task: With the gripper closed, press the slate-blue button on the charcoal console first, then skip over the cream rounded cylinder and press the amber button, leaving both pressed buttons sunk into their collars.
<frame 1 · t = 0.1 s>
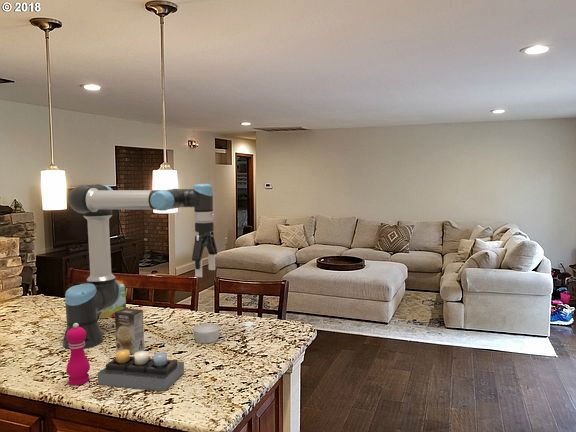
hand: (205, 273, 191), 28 cm above the kitchen island counter, tool pointing down, fingers open, 13 cm apart
snack box: (102, 317, 226), on the kitchen island counter
button console: (142, 378, 157), on the kitchen island counter
pepper mill: (78, 381, 156), on the kitchen island counter
coffee box: (130, 351, 182), on the kitchen island counter
blue button: (160, 364, 155), point 6 cm above the kitchen island counter, slide at 0.0 cm
amber button: (123, 361, 158), point 6 cm above the kitchen island counter, slide at 0.0 cm
ramekin: (207, 340, 193), on the kitchen island counter
cream rounded cylinder: (141, 362, 156), point 5 cm above the kitchen island counter, slide at 0.0 cm
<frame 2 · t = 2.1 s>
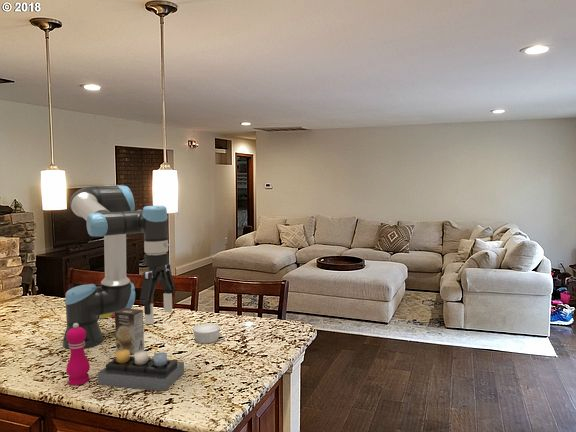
hand: (159, 317, 154), 21 cm above the kitchen island counter, tool pointing down, fingers open, 12 cm apart
nothing on the kitchen island counter moved.
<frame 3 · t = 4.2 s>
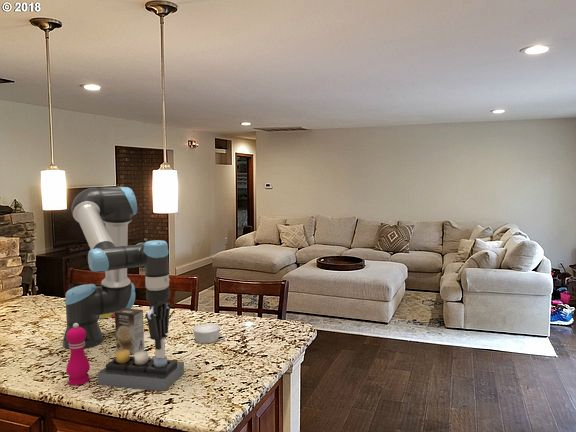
hand: (160, 357, 155), 8 cm above the kitchen island counter, tool pointing down, fingers closed
blue button: (160, 367, 155), point 4 cm above the kitchen island counter, slide at 1.1 cm, touching gripper
everything else where it was.
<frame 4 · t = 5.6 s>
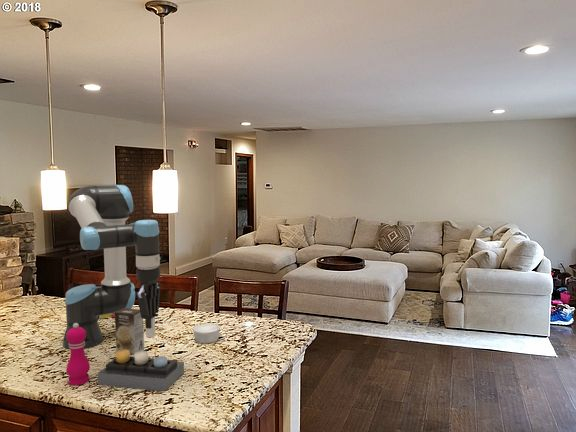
hand: (150, 336, 155), 15 cm above the kitchen island counter, tool pointing down, fingers closed
blue button: (160, 368, 155), point 4 cm above the kitchen island counter, slide at 1.4 cm
everything else where it was.
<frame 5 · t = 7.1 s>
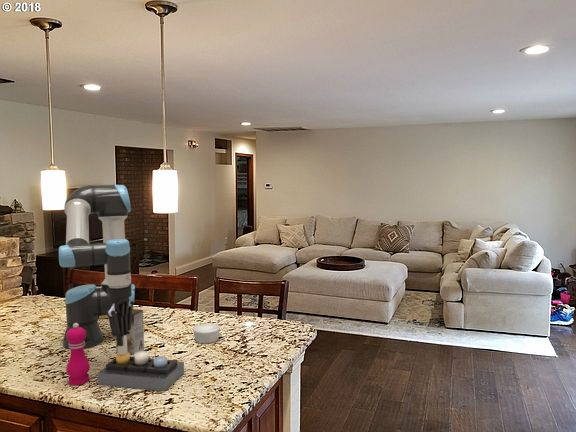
hand: (122, 353, 158), 8 cm above the kitchen island counter, tool pointing down, fingers closed
amber button: (123, 363, 158), point 5 cm above the kitchen island counter, slide at 0.9 cm, touching gripper
everything else where it was.
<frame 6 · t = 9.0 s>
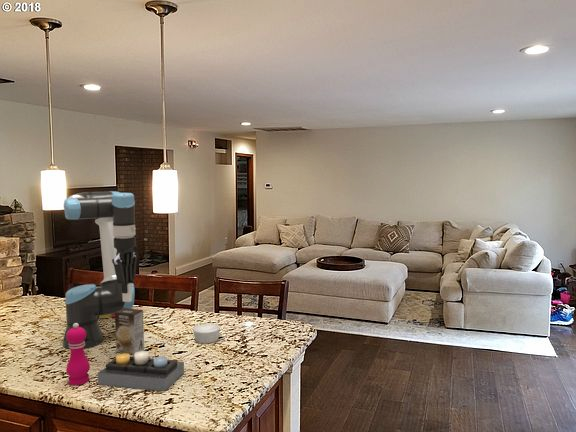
hand: (127, 301, 168), 23 cm above the kitchen island counter, tool pointing down, fingers closed
amber button: (123, 365, 158), point 4 cm above the kitchen island counter, slide at 1.4 cm
everything else where it was.
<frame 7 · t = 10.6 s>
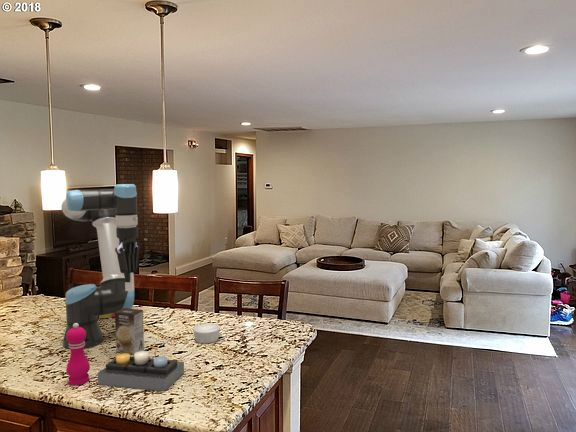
hand: (129, 290, 171), 26 cm above the kitchen island counter, tool pointing down, fingers closed
nothing on the kitchen island counter moved.
at the end: blue button slide at 1.4 cm; amber button slide at 1.4 cm; cream rounded cylinder slide at 0.0 cm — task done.
